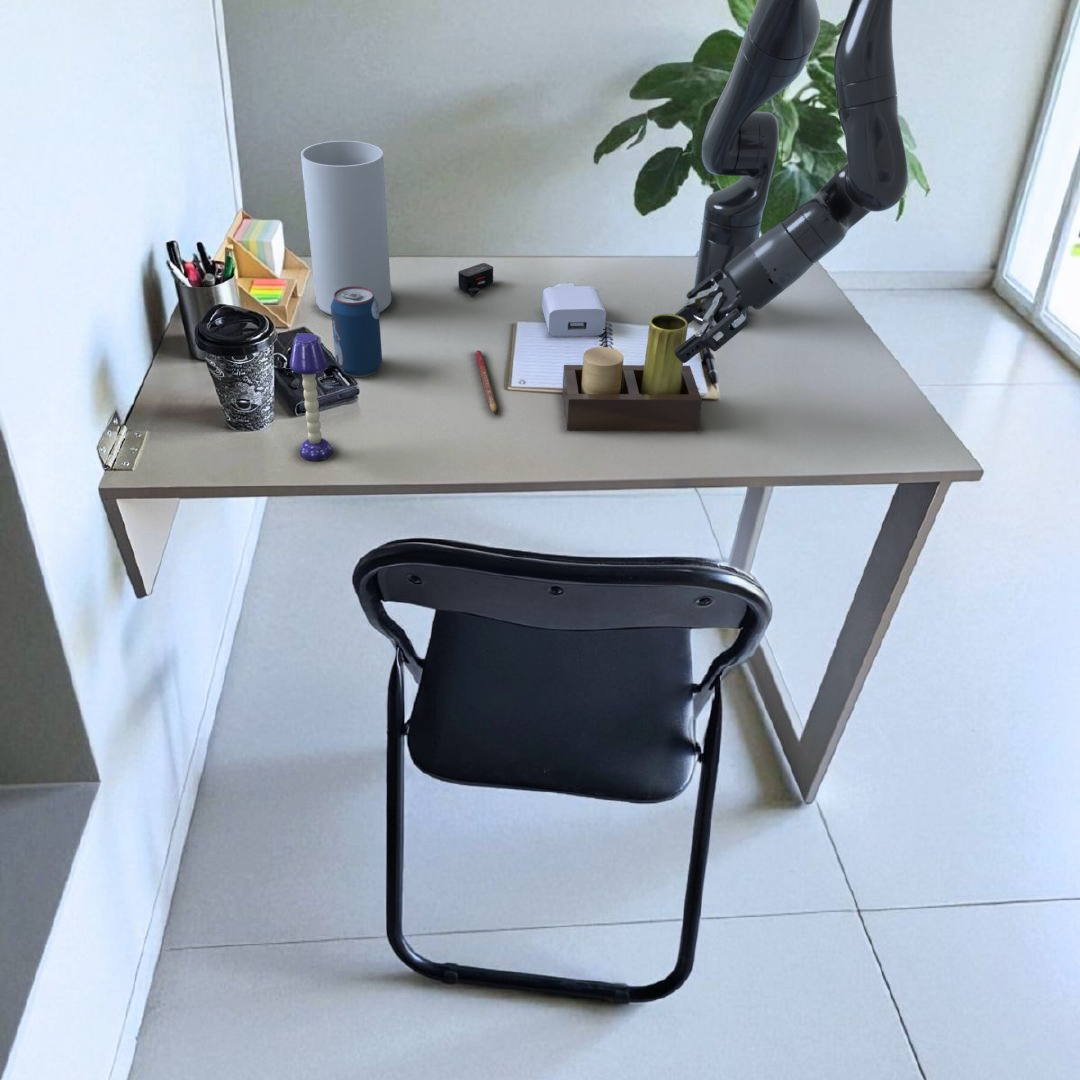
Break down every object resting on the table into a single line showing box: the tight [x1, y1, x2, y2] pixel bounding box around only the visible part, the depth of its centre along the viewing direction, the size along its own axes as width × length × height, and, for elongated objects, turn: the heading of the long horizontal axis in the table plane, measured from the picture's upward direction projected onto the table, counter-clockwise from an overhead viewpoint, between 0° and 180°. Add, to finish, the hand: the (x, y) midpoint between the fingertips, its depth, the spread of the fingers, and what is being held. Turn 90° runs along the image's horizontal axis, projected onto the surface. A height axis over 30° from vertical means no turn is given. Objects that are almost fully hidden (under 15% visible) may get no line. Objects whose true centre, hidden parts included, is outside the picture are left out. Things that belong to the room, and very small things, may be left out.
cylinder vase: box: [300, 140, 392, 316], centre depth 168 cm, size 12×12×25 cm
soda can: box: [330, 286, 383, 378], centre depth 155 cm, size 7×7×12 cm
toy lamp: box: [289, 333, 333, 462], centre depth 135 cm, size 5×5×17 cm
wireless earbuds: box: [457, 262, 494, 297], centre depth 181 cm, size 5×7×3 cm, turn 134°
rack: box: [561, 364, 703, 432], centre depth 149 cm, size 10×18×5 cm, turn 93°
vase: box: [640, 313, 689, 394], centre depth 147 cm, size 6×6×14 cm
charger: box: [541, 282, 607, 338], centre depth 174 cm, size 5×9×15 cm
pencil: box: [474, 350, 498, 416], centre depth 155 cm, size 19×1×1 cm, turn 10°
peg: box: [581, 346, 625, 394], centre depth 148 cm, size 6×6×9 cm
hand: (673, 343), depth 144 cm, fingers open, 8 cm apart
